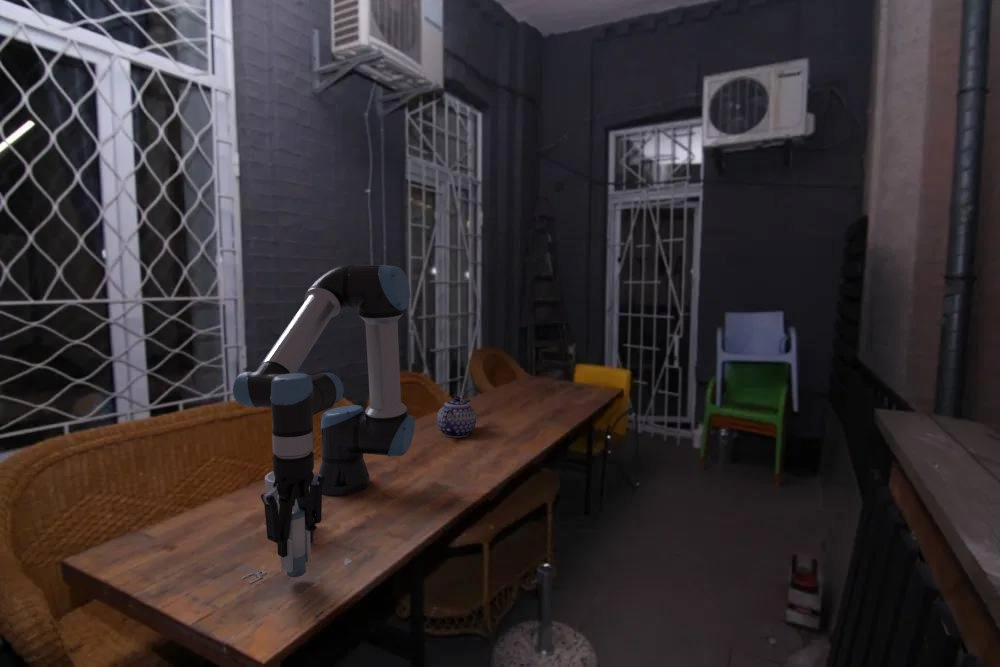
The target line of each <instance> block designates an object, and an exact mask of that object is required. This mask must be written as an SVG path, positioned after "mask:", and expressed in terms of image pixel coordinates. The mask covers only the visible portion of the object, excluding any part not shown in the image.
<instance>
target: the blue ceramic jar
mask: <svg viewBox="0 0 1000 667" xmlns="http://www.w3.org/2000/svg"><path fill="white" fill-rule="evenodd" d="M453 399H454V400H448V401H445V402H444V404H443V406H441V408H440V409H439V410H438V412H437V416H436V419H437V420H436V424H437V427H438V429H439V430H440V432H441V433H442V434H443V435H444V436H445V437H448V438H457V439H458V438H465V437H468V436H469V435H470V433H472V432H473V431H474V430H475V427H476V424H477V414H476V411H475V410H474V408H473V407H472V406H471V404H470V403H471V399H467V398H465V399H464V400H461V399H462V398H461V397H460V396H455V397H453Z"/></svg>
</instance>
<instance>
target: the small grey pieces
mask: <svg viewBox="0 0 1000 667" xmlns="http://www.w3.org/2000/svg"><path fill="white" fill-rule="evenodd" d="M352 562H353V560H351V559H350V558H347V557H345V559H344V562H343V564H344V565H345V566H347V565H349V564H350V563H352ZM261 572H262V573H261ZM267 574H268V572H267V571H265V570H264V569H261V570H259V571H257V572H256V571H255V570H253V571H251V573H248V574H245V575H244V576H242V577H241V578H240V580H244V579H246V578H249V577H251V576H253V575H254V576H255V577H257V578H253V579H252V580H250V581H248V585H249V584H250V585H251V584H253V583H256V582H257V581H259V580H261V579H263V576H265V575H267ZM250 575H251V576H250Z"/></svg>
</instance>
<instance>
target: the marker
mask: <svg viewBox="0 0 1000 667" xmlns="http://www.w3.org/2000/svg"><path fill="white" fill-rule="evenodd" d="M289 539H292V546H293V571H292V572H290V573H289V572H287V571H286V575H287V577H289V578H298V577H301V576H303V575H304V574H306V573H307V562H306V549H305V510H304V509H301V508H293V509H292V516H291V524H290V532H289Z"/></svg>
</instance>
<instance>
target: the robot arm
mask: <svg viewBox="0 0 1000 667" xmlns="http://www.w3.org/2000/svg"><path fill="white" fill-rule="evenodd" d="M410 298H411V292H410V285H409V281H408V278H407V276H406V274H405V272H404V270H403V269H401V267H398V266H395V265H387V264H345V265H344V264H343V265H339V266H337V267H335V268H332V269H331V270H329V271H327V272H325V273H324V274H323V275H321V276H320V277H319V278H318V279H316V280H315V281H314V283H313V284H312V285H311V286H310V287H309V288H308V290H307V291H306V292H305V294H304V303H303V304H302V305H301V306H300V307H299V309H298V311H297V313H295V315H294V316H293V318H292V319H291V321H290V322H289V324H288V325H287V327H286V328H285V329H284V330H283V332H282V333H281V335H280V336H279V338H278V339H277V340H276V342H275V343H274V345H273V346H272V348H271V349H270V351H268V352H267V354H266V356H265V357H264V359H263V360H262V361H261V363H260V364H259V366H258V367H257V369H255V371H254V370H253V371H251V370H250V371H243V372H241V373H239V374H238V375H237V377H235V380H234V382H233V385H232V386H233V387H232V393H233V398H234V399H235V401H236V402H237V404H239V405H241V406H246V407H252V408H256V409H257V408H259V409H260V408H262V409H263V408H264V409H265V408H266V409H267V408H268V409H269V408H270V409H271V422H272V423H271V424H272V426H271V427H272V428H271V430H272V431H271V434H272V435H271V436H272V437H271V438H272V453H273V454H274V455H273V456H272V466H273V468H272V472H273V473H274V476H275V482H274V484H273V489H272V490H270V491H269V492H268V493H267V492H262V493H261V495H260V499H261V501H262V503H263V506H264V516H265V528H266V537H267V538H266V539H267V540H269V541H271V542H273V543H276V544H277V545H276V546H277V555H278V556H279V557H280V568H281V570H282V571H285V572H286V573H287V572H289V573H290V572H292V571H293V546H292V539H289V532H290V524H291V516H292V509H293V506H294V505H295V500H296V499H297V503H298V508H301V509H304V510H305V549H306V564H308V563H310V562H311V561H312V554H311V550H312V549H311V545H312V543H313V541H314V531H316V530H317V528H318V526H317V524H320V523H321V521H322V516H323V515H322V512H323V510H322V509H323V508H322V507H323V506H322V504H323V494H324V495H327V496H345V495H346V496H348V495H352V494H356V493H359V492H361V491H364V490H366V489H367V488H368V487H369V486H370V480H371V479H370V473H369V471H368V468H367V465H366V462H365V459H364V455H365V454H366V455H375V456H376V455H377V456H387V457H401V456H404V455H405V454H406V453H407V452H408V451H409V450H410V448H411V444H412V442H413V438H414V435H415V428H416V421H415V417H414V416H413V415H411V414H408V407H407V406H406V405H405V404H404V403H403V402H402V395H401V394H402V392H401V391H402V390H401V371H400V369H401V367H400V350H399V349H400V347H399V346H400V345H399V328H398V327H399V324H398V322H399V319H400V318H402V317H403V315H404V314H403V313H404V312H403V311H404V310H405V309H407V308H408V307H409V304H410ZM346 308H347V309H348V308H349V309H351V308H352V309H358V317H359V318H360V319H361V320H363V321H364V323H365V337H366V338H365V340H366V352H367V354H366V356H367V372H368V387H369V388H368V389H369V405H368V406H367V407H366V408H365V410H364V408H363V406H362V405H358V404H354V405H353V404H352V405H344V406H343V405H342V406H339V407H338V406H337V407H334V408H333V406H335V405H336V404H338V403H339V402H340V401H341V399H342V398H343V395H344V390H345V389H344V384H343V382H342V379H341V378H339V377H338V376H337V375H336V374H334V373H332V372H323V373H320V372H319V373H317V374H316V375H314V374H313V375H311V374H310V375H309V374H308V373H303V372H302V373H301V372H298V371H299V369H300V367H301V366H302V364H303V363H304V362H305V359H306V358H307V357H308V355H309V354H310V351H312V348H313V347H314V345H315V344H316V342H317V341H318V339H319V338H320V336H321V335H322V333H323V332H324V330H325V328H326V327H327V324H329V322H330V321H331V318H334V317H337V315H339V313H340V312H341V311H342V310H344V309H346ZM297 372H298V373H297ZM327 409H328V410H327ZM325 410H326V411H325ZM321 412H323V414H322V415H321V422H320V433H321V436H320V439H321V442H320V443H321V464H320V466H319V472H318V473H314V471H313V470H314V469H315V458H314V457H315V455H314V452H313V450H314V447H315V446H314V444H315V443H314V415H317V414H319V413H321ZM277 494H278V495H279V501H278V498H277ZM276 501H278V502H279V505H280V506H279V514H278V505H277V502H276Z"/></svg>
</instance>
